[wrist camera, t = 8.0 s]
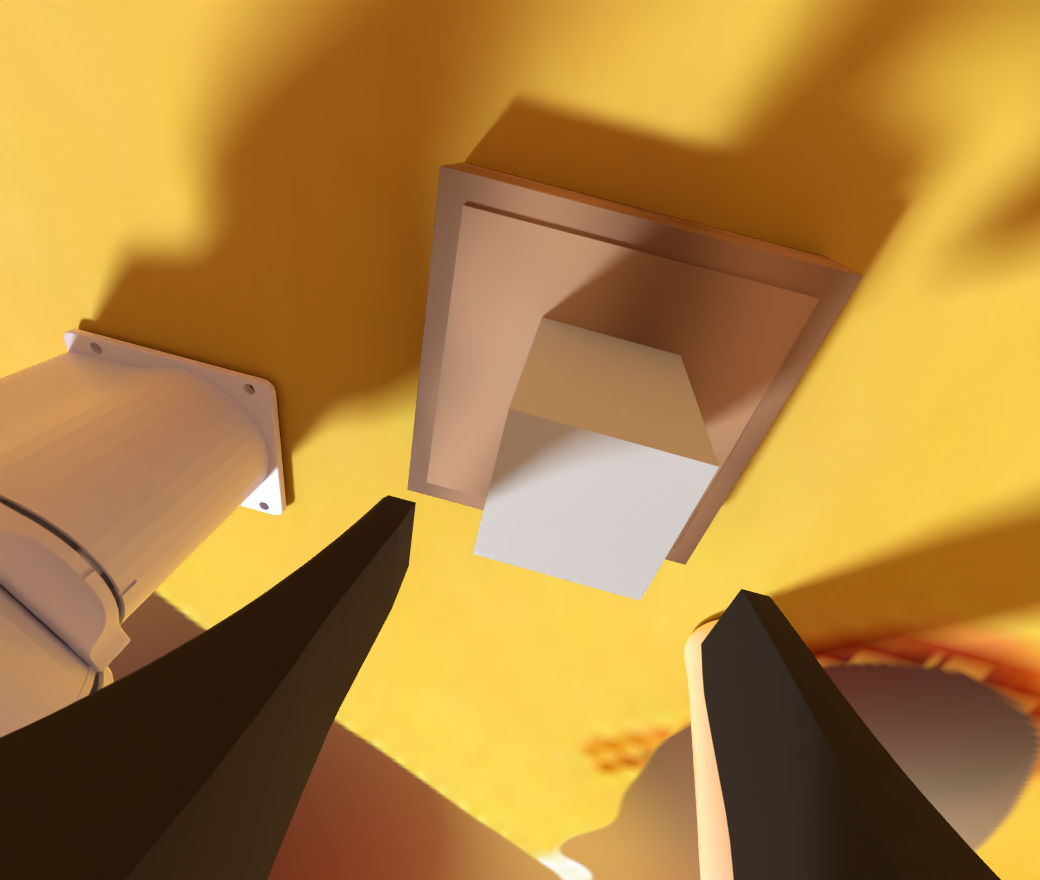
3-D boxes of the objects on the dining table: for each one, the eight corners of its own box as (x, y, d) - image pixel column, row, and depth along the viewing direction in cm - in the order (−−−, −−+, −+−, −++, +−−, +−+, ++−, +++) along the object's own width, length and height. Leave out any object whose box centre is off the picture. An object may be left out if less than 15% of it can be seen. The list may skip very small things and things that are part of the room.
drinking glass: (726, 583, 23) (869, 1104, 11) (834, 639, 24) (1081, 1179, 12) (643, 647, 27) (677, 1092, 14) (739, 694, 28) (850, 1149, 15)
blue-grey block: (511, 433, 17) (473, 553, 12) (541, 316, 15) (508, 408, 10) (630, 466, 17) (640, 600, 12) (680, 355, 15) (719, 467, 10)
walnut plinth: (426, 456, 22) (406, 491, 20) (463, 162, 15) (439, 166, 13) (677, 523, 22) (685, 567, 19) (826, 257, 15) (864, 277, 13)
